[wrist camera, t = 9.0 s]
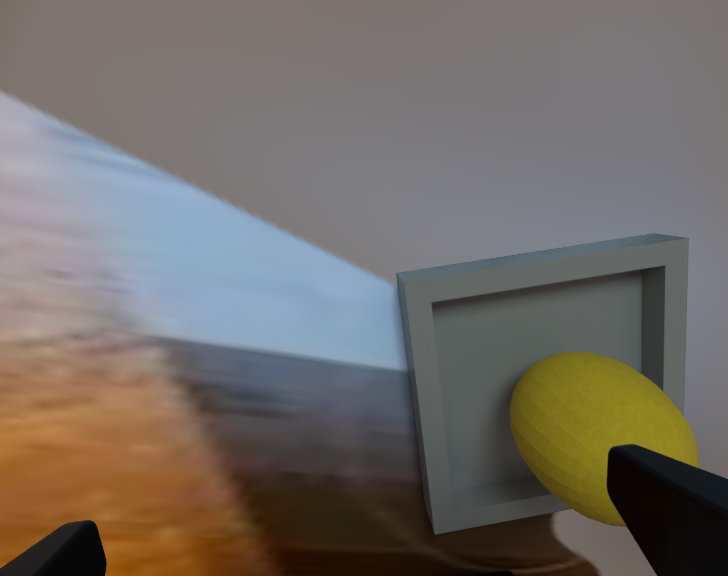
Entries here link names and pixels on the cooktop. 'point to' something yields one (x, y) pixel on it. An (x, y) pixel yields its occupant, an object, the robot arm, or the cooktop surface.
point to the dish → (527, 356)
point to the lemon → (591, 426)
